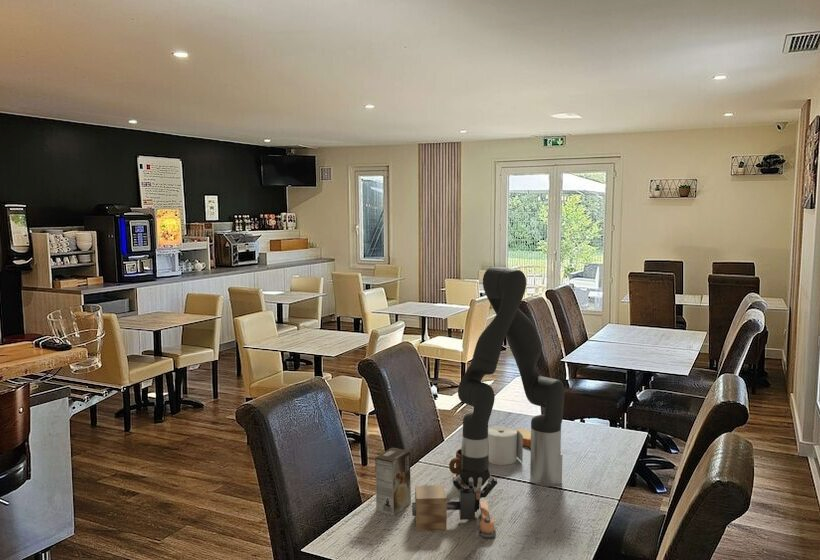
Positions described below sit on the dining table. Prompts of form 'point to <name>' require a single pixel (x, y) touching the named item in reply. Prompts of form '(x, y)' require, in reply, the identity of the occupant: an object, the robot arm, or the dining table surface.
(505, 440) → the toilet tissue
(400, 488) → the coffee box
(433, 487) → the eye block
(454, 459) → the mug
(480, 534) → the dark grey puck
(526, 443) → the slice of bread
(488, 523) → the latch bar
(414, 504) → the dark grey hammer
